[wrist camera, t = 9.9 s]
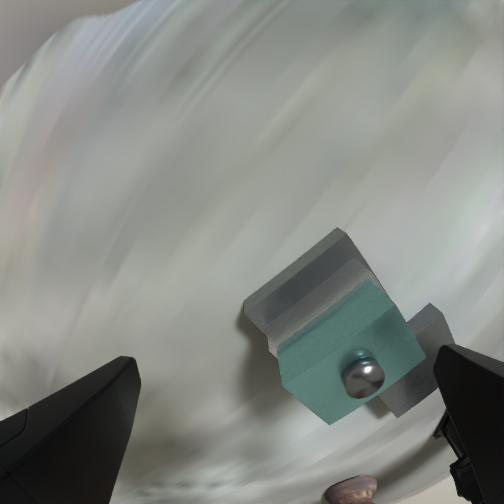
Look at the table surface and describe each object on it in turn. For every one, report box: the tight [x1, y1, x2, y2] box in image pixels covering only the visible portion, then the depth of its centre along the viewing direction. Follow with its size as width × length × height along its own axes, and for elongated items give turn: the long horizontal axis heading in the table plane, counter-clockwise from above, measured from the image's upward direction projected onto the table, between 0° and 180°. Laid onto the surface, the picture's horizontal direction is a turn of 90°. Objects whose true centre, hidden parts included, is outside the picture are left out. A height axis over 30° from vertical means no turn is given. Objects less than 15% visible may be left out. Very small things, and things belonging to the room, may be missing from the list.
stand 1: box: [244, 227, 389, 338], centre depth 20 cm, size 8×8×2 cm
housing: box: [266, 257, 426, 425], centre depth 15 cm, size 7×5×7 cm
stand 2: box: [378, 303, 455, 418], centre depth 21 cm, size 8×8×2 cm
